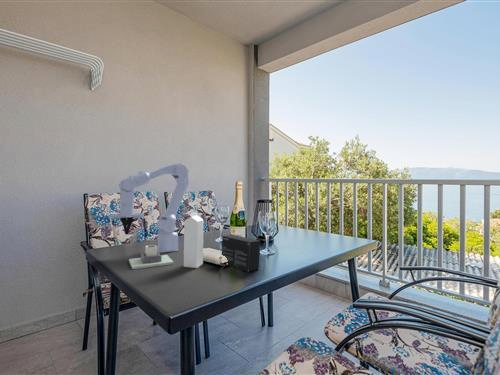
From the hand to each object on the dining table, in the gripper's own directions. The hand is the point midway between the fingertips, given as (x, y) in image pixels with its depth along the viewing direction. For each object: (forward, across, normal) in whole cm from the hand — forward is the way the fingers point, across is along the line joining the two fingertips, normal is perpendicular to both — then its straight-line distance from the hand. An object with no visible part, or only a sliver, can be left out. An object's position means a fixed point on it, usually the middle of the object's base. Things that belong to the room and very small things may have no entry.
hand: (126, 234), depth 128 cm
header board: (+10, +8, -16) cm, 20 cm away
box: (+10, +40, -36) cm, 55 cm away
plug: (+9, +8, -16) cm, 20 cm away
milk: (+10, +23, -27) cm, 37 cm away
